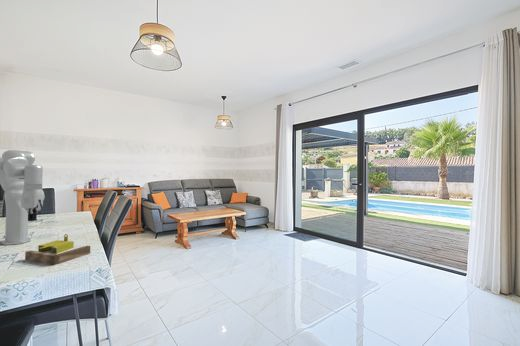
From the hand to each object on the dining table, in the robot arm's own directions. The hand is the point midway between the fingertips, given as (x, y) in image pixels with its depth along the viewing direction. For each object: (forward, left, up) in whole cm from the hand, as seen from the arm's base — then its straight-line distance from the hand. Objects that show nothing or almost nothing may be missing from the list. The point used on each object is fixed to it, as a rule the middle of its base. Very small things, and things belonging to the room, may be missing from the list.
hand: (32, 220), depth 136 cm
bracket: (+15, +1, -16) cm, 22 cm away
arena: (+27, -5, -15) cm, 31 cm away
